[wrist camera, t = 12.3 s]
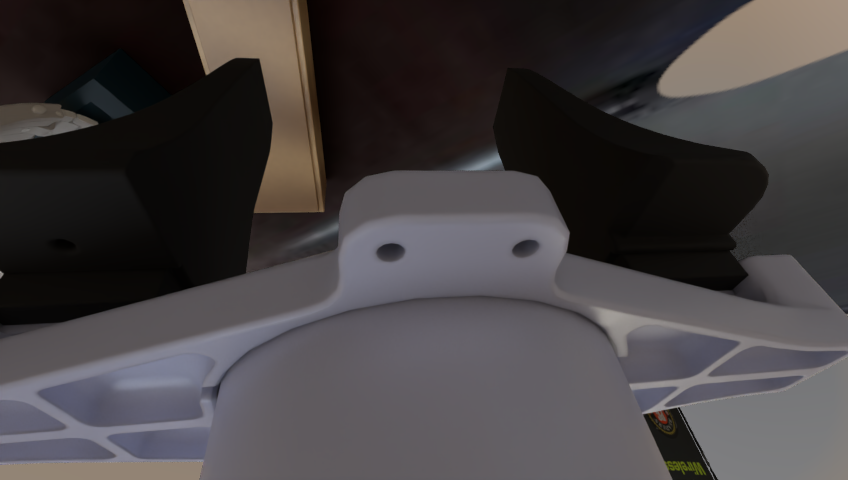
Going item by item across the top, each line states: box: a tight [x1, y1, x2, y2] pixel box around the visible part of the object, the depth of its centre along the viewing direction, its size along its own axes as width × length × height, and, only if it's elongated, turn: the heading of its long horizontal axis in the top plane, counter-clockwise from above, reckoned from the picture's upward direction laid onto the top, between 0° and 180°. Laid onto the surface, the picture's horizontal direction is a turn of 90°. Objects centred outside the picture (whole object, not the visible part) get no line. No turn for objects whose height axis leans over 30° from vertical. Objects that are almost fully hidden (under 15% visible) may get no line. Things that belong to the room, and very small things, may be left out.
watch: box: [0, 48, 172, 279], centre depth 19 cm, size 6×8×11 cm
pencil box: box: [183, 0, 326, 213], centre depth 21 cm, size 14×4×3 cm, turn 175°
